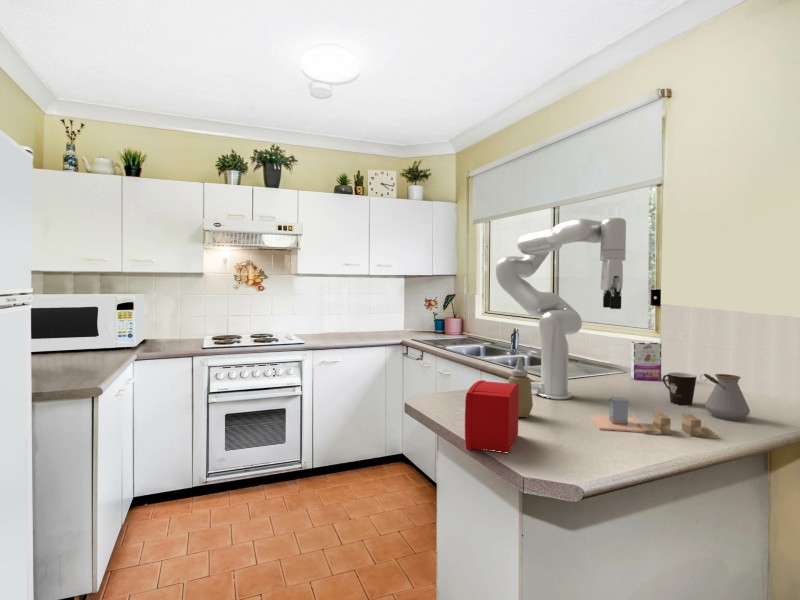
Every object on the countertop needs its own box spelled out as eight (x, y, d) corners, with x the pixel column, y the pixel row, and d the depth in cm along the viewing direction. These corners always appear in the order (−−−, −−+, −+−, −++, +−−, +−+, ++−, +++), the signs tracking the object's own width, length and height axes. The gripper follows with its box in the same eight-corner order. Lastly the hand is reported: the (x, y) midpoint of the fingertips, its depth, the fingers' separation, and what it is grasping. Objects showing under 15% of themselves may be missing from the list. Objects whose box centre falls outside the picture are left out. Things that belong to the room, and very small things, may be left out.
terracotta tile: (599, 429, 130) (599, 427, 130) (590, 417, 143) (590, 415, 143) (649, 433, 127) (649, 430, 127) (635, 419, 140) (635, 417, 140)
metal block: (612, 424, 133) (613, 400, 133) (609, 420, 137) (609, 396, 137) (627, 424, 133) (628, 400, 132) (623, 420, 137) (624, 397, 136)
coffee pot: (714, 409, 152) (716, 364, 151) (756, 418, 142) (757, 370, 142) (681, 419, 140) (683, 370, 140) (724, 429, 131) (726, 377, 130)
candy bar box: (656, 378, 203) (657, 341, 202) (661, 381, 198) (662, 342, 198) (629, 377, 205) (630, 340, 204) (633, 379, 200) (634, 342, 199)
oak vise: (644, 433, 127) (645, 417, 126) (637, 426, 133) (637, 410, 133) (718, 438, 123) (718, 421, 123) (706, 430, 130) (706, 414, 130)
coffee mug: (700, 407, 155) (701, 377, 155) (672, 405, 157) (672, 376, 156) (686, 398, 166) (686, 371, 166) (660, 397, 168) (660, 370, 168)
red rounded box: (479, 430, 129) (479, 377, 129) (518, 435, 125) (519, 380, 125) (464, 449, 114) (464, 388, 114) (508, 455, 110) (509, 393, 110)
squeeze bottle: (533, 413, 146) (534, 357, 145) (531, 420, 138) (532, 361, 138) (507, 411, 149) (508, 355, 148) (504, 418, 141) (505, 359, 140)
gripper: (595, 257, 161) (594, 306, 161) (606, 254, 144) (605, 309, 144) (618, 257, 159) (617, 307, 160) (632, 254, 142) (631, 309, 143)
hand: (611, 308), depth 152 cm, fingers open, 9 cm apart
